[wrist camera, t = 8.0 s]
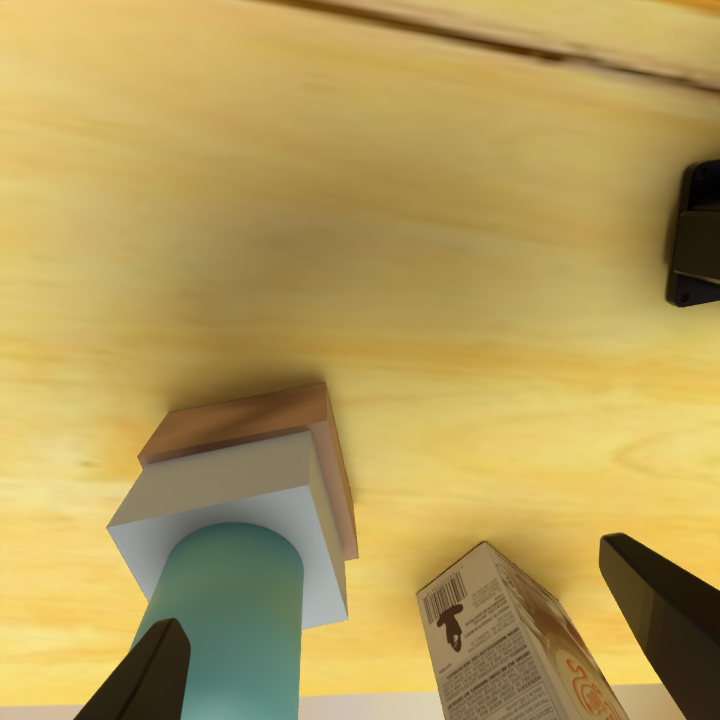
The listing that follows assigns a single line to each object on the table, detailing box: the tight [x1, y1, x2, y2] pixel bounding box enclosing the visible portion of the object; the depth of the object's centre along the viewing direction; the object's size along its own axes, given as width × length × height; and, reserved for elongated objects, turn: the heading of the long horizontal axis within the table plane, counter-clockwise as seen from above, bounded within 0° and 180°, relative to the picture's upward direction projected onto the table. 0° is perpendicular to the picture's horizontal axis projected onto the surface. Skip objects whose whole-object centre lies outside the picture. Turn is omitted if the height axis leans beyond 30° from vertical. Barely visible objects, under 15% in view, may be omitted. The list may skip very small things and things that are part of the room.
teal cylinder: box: [128, 522, 304, 720], centre depth 13 cm, size 5×5×5 cm
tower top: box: [106, 430, 348, 630], centre depth 17 cm, size 7×7×4 cm
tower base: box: [137, 383, 359, 561], centre depth 20 cm, size 8×8×4 cm
